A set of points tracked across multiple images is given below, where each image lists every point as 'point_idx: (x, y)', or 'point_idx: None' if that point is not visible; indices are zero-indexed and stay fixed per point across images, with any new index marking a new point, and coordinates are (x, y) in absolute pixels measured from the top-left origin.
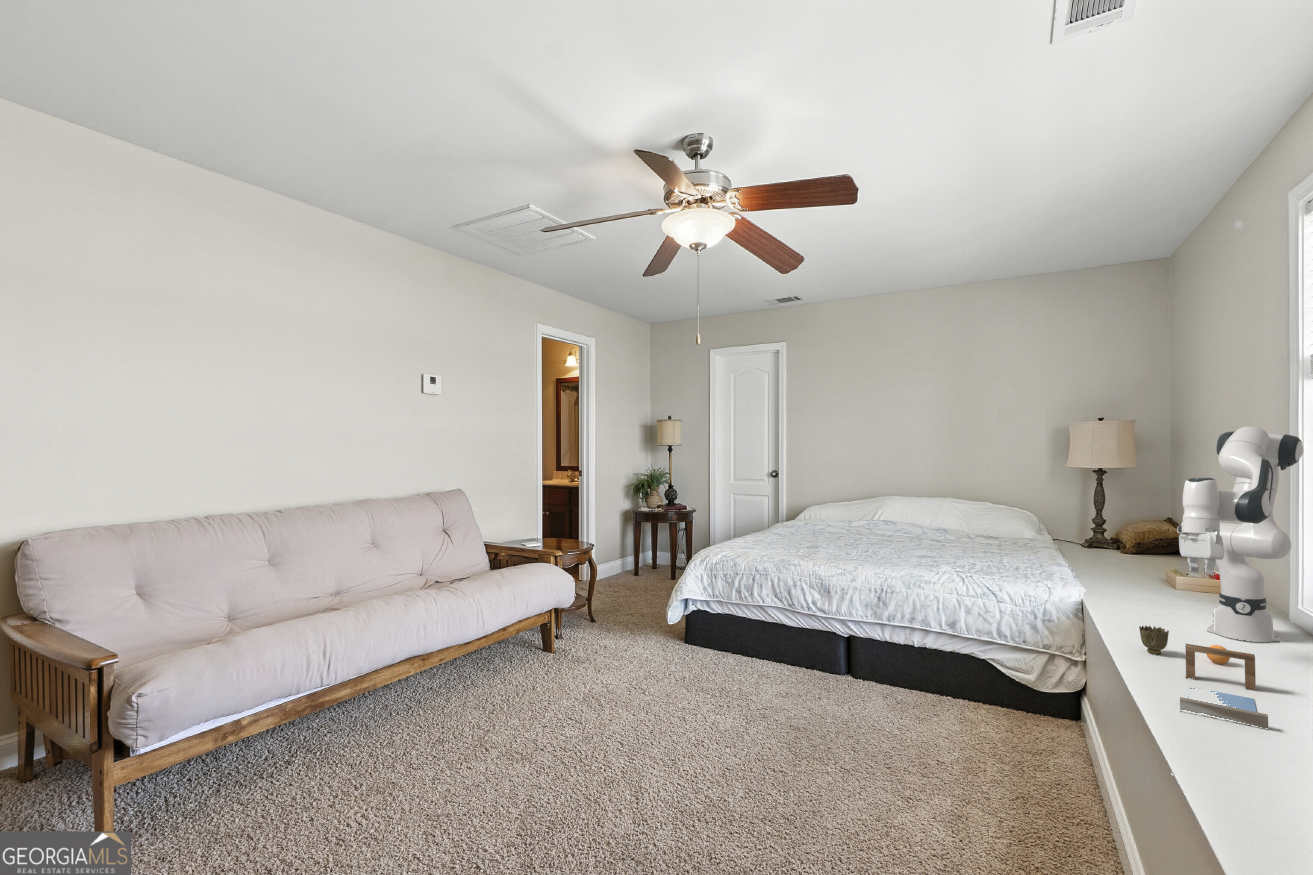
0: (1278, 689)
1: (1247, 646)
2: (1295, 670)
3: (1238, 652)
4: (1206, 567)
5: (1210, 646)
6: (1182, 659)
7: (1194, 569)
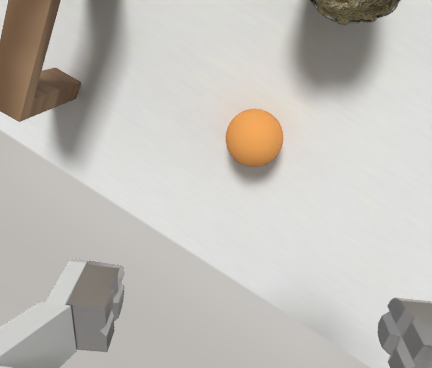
0: (80, 143)
1: (414, 295)
2: (228, 265)
3: (20, 83)
4: (32, 306)
5: (261, 128)
6: (281, 41)
7: (402, 333)
